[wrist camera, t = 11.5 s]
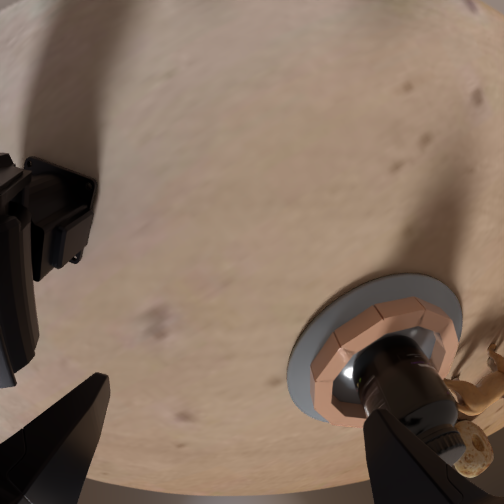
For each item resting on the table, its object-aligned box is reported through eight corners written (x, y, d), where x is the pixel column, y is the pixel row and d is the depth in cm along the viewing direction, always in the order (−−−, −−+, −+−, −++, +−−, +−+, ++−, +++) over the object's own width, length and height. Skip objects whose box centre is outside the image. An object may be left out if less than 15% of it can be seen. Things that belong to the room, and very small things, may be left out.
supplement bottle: (424, 325, 24) (495, 422, 12) (407, 379, 26) (456, 471, 15) (354, 338, 23) (411, 459, 12) (344, 393, 26) (381, 500, 15)
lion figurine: (515, 320, 26) (557, 362, 17) (509, 348, 28) (545, 390, 19) (421, 379, 27) (457, 439, 19) (421, 404, 29) (450, 459, 21)
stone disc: (479, 416, 33) (505, 458, 24) (464, 431, 35) (488, 472, 25) (446, 417, 32) (474, 468, 22) (430, 433, 33) (454, 484, 24)
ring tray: (253, 405, 27) (254, 426, 24) (356, 239, 21) (370, 253, 18) (389, 424, 30) (396, 440, 28) (485, 305, 24) (499, 318, 22)
